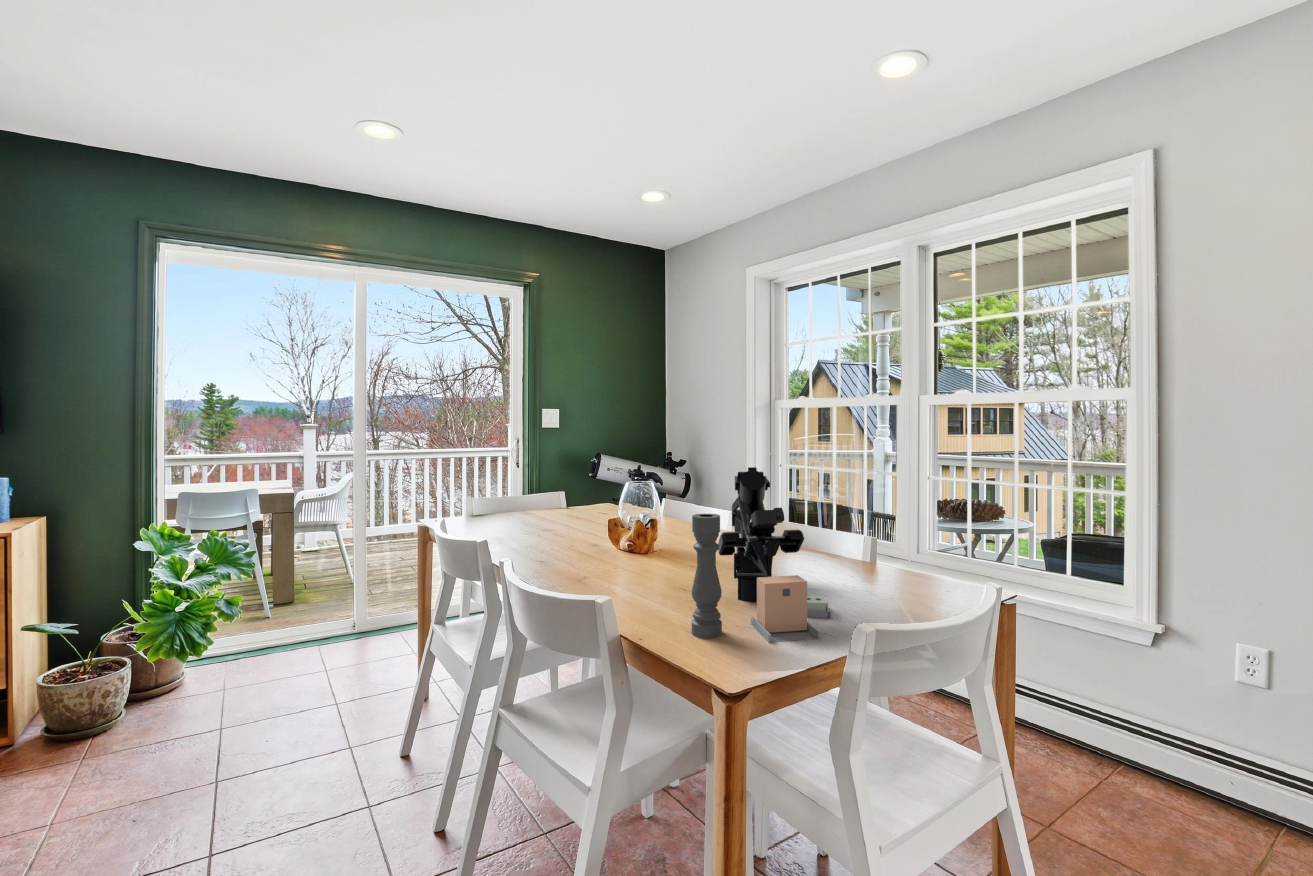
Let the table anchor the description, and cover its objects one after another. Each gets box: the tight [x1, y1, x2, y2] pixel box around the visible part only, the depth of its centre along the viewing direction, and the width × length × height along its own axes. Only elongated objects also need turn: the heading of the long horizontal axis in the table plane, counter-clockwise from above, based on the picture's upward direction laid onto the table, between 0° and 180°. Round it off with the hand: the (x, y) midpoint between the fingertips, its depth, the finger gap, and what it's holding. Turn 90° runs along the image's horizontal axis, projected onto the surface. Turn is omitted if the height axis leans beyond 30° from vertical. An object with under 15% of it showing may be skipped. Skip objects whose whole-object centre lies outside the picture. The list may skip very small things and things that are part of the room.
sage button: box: [807, 595, 827, 611], centre depth 143 cm, size 5×5×2 cm
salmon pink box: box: [756, 575, 808, 633], centre depth 132 cm, size 5×9×10 cm, turn 100°
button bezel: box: [807, 602, 834, 620], centre depth 143 cm, size 8×8×2 cm
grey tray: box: [750, 616, 821, 643], centre depth 131 cm, size 11×11×2 cm
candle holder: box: [691, 513, 723, 640], centre depth 129 cm, size 6×6×25 cm
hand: (768, 575), depth 138 cm, fingers closed
